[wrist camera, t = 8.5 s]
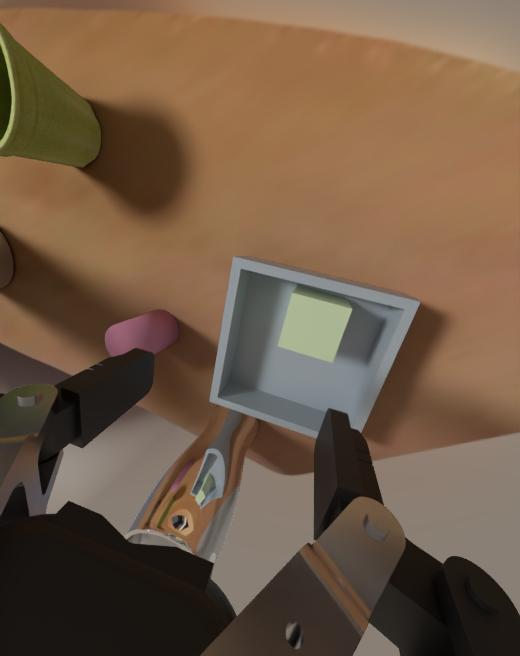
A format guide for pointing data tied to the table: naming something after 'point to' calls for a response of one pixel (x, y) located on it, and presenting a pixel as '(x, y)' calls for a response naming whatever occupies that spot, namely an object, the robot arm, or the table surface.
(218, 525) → the beer glass
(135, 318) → the plum cylinder
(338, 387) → the tub
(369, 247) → the table surface
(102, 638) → the robot arm
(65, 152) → the plant pot
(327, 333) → the sage block
